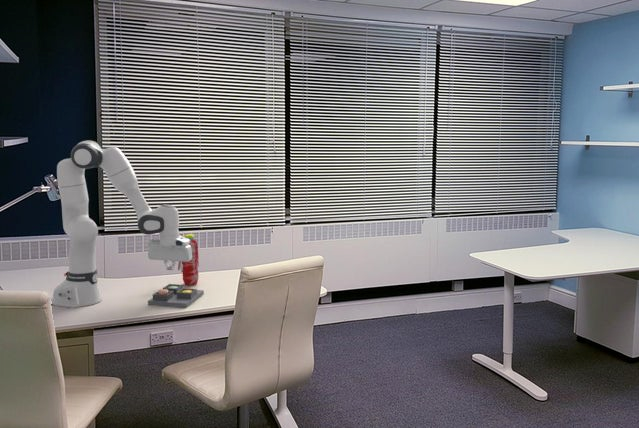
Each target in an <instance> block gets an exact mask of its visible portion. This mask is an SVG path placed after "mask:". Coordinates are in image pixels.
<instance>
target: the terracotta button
mask: <svg viewBox="0 0 639 428" xmlns="http://www.w3.org/2000/svg"><path fill="white" fill-rule="evenodd" d="M157 291H158V294H161V295H167V294H168V290H167V289H163V288H162V289H158V290H157Z"/></svg>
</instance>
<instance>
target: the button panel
mask: <svg viewBox="0 0 639 428" xmlns="http://www.w3.org/2000/svg"><path fill="white" fill-rule="evenodd" d="M169 286H177V288H168V287H169ZM183 286H184V285H183V284H175V283H168V284H167V285H165V286H163V287H162V289H167V290H168V294H167V295H161V294H158V290H157V291H155V293H153V294H152V298H150V299H148V300H147V305H148V306H151V307H152V306H154V307H166V308H167V307H170V308H179V309H180V308H182V309H187V308H189V307H190V306H191V305H193V303H195V302H196V301H197V300H198V299H200V298H201V297H203V296H204V294H205V293H204V291H205V290H202V289H197V288H186V287H183ZM184 290H191V291H192V292H190V293H185V292H182V291H184Z"/></svg>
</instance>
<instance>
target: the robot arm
mask: <svg viewBox="0 0 639 428" xmlns="http://www.w3.org/2000/svg"><path fill="white" fill-rule="evenodd" d="M99 167H100V168H101V169H102V171H104V173H105V175H106V176H107V179H108V180H109V182H110V183H111V185H112V186H113V187H114V188H115V189H116V191H118V192H120V193H121V194H123V195H124V196H125V197H126V198H127V200H128V201H129V202H130V204H131V206H132V207H133V210H134V211H135V214H136V222H137V228H138V231H140V233H142V234H144V235H150V236H151V235H155V234H159V235H158V236H159V239H153V238H152V239H150V240H149V241H148V242H147V245H148V246H147V247H148V248H147V249H148V250H147V258H148V259H149V260H151V261H153V260H154V261H163V264H164V265H165V266H166V271H174V270H175V265H176V264H177V262H179V261H181V262H182V261H184V262H189V261H190V260H191V259H192V249H191V246H190V245H189V243H190V240H189V239H188V238H185V236H182V235H180V230H179V226H180V216H179V210H178V208H177V207H176V206H174V205H172V204H163V203H162V204H160V205H159V206H158V207H157V208H152V207H150V206H149V203H148V202H147V201H146V199H145V197H144V195H143V193H142V191H141V190H140V187H139V182H138V178H137V174H136V172H135V170H134V168H133V166H132V164H131V163H130V161H129V160H128V158H127V157H126V155H125V154H124V153H123V151H122V150H121V149H120V148H119V147H116V146H113V147H112V146H109V147H106V148H102V146H101V144H99V143H98V142H97V141H96V140H92V139H87V140H82V141H80V142H78V143H77V144H76V145H75V146H73V148H72V150H71V152H70V158H64V159H62V160H60V161H59V162H58V163H57V165H56V177H57V178H56V180H57V187H58V193H59V197H60V201H61V203H60V204H61V213H62V214H61V216H62V217H61V218H62V226H63V227H62V228H63V231H64V233H65V234H66V235H67V236H69V250H68V253H67V254H68V255H67V256H68V258H67V259H68V271H66V272H65V273H64V274H63V277H65V279H64V281H62V282H60V283H59V285H56V287H55V288H54V290H53V294H52V297H50V299H51V301H52V304H53V306H60V307H66V308H79V307H85V306H92V305H94V304H97V303H98V304H99V302H101V301H102V297H101V293H100V290H99V286H98V269H97V266H96V265H97V264H96V263H97V262H96V246H97V238H98V235H99V228H98V225H97V224H96V222H95V221H94V220H93V219H92V218H90V217H89V216H90V215H89V201H90V199H89V193H88V187H87V182H86V178H85V173H86V172H85V171H86V169H93V168H99ZM169 262H171V265H170V264H169ZM52 304H51V305H52Z"/></svg>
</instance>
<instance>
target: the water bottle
mask: <svg viewBox="0 0 639 428" xmlns="http://www.w3.org/2000/svg"><path fill="white" fill-rule="evenodd" d="M184 237H185V238H188V239H189V240H190V243H189V245H190V246H191V249H192V259H191V260H190V261H189V262H184V261H178V264H177V265H178V266H177V271H181V273H182V281H183V283H184V285H186V286H194V285H197V284H198V281H199V278H200V277H199V247H198V242H197V240H196V239H195V234H193V233H187V234H185V235H184Z"/></svg>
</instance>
